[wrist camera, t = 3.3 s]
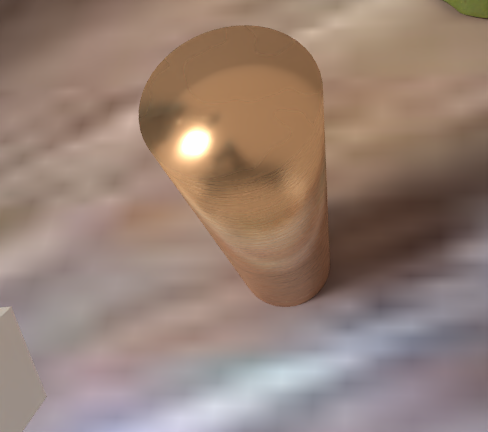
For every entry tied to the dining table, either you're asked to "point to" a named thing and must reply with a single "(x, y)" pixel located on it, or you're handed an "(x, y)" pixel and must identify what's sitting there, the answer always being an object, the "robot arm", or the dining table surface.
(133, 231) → the dining table surface
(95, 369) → the dining table surface
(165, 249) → the dining table surface
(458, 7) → the plant pot
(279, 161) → the copper pin
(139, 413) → the dining table surface
